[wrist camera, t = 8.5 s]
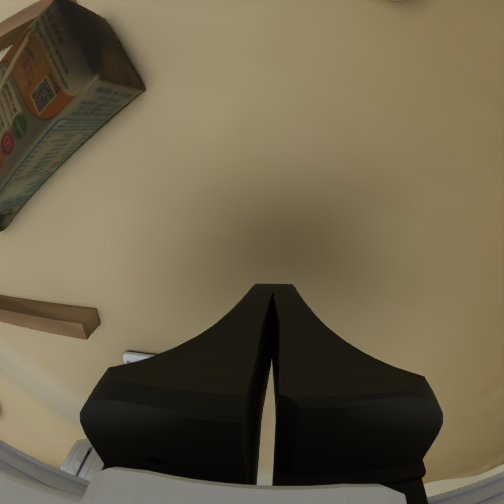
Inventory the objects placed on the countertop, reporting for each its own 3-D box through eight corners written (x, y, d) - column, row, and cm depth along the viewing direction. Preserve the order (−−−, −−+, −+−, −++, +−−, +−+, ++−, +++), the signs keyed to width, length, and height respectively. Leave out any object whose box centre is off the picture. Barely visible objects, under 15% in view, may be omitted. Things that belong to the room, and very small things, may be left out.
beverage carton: (-25, 164, 21) (-75, 178, 15) (107, 12, 16) (56, -16, 10) (6, 231, 23) (-43, 256, 17) (155, 87, 18) (105, 72, 12)
